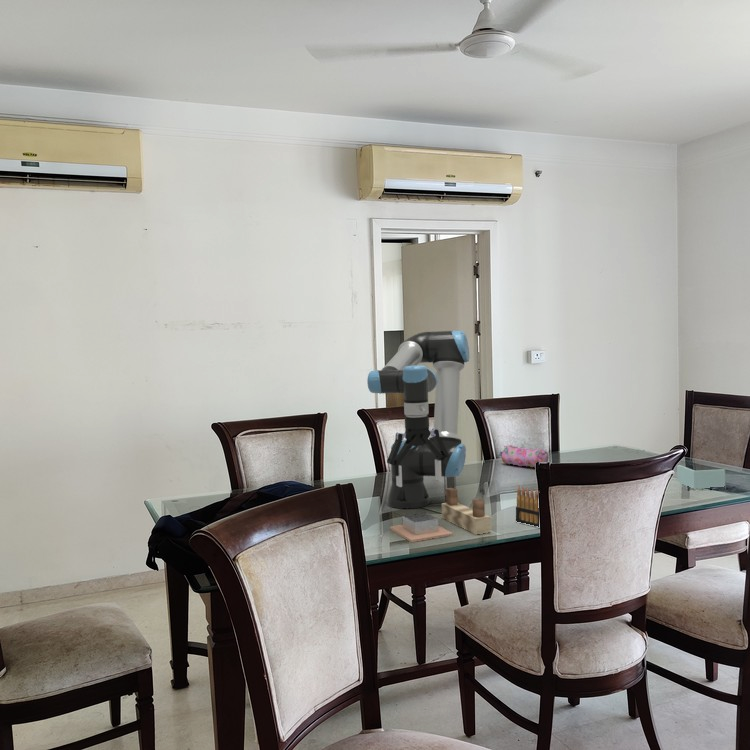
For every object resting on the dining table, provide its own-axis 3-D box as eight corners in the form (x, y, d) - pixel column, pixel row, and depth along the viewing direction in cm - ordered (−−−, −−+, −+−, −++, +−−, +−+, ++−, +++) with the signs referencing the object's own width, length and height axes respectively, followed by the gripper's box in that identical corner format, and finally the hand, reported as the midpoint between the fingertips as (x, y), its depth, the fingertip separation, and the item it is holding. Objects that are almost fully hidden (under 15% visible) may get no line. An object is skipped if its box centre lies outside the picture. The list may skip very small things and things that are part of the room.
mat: (389, 529, 219) (389, 526, 219) (428, 522, 224) (428, 520, 224) (411, 542, 204) (411, 540, 204) (452, 535, 210) (452, 533, 209)
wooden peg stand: (442, 518, 230) (441, 488, 229) (455, 516, 231) (454, 486, 231) (476, 535, 209) (475, 502, 209) (490, 532, 211) (489, 500, 210)
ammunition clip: (515, 522, 222) (514, 485, 221) (519, 521, 223) (518, 484, 222) (542, 529, 213) (541, 490, 212) (546, 527, 214) (545, 489, 214)
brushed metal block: (402, 528, 217) (402, 515, 216) (425, 524, 220) (425, 512, 220) (415, 535, 208) (414, 522, 208) (438, 531, 212) (438, 518, 211)
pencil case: (498, 465, 314) (498, 445, 314) (511, 462, 320) (511, 443, 320) (537, 471, 298) (537, 450, 298) (550, 468, 304) (549, 448, 303)
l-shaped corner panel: (725, 489, 254) (725, 469, 254) (694, 491, 253) (693, 471, 253) (707, 482, 266) (707, 463, 266) (677, 484, 265) (677, 465, 265)
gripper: (384, 420, 204) (387, 491, 205) (458, 413, 213) (460, 480, 215) (374, 418, 211) (377, 486, 212) (446, 410, 220) (448, 475, 222)
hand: (419, 483), depth 214 cm, fingers open, 13 cm apart
